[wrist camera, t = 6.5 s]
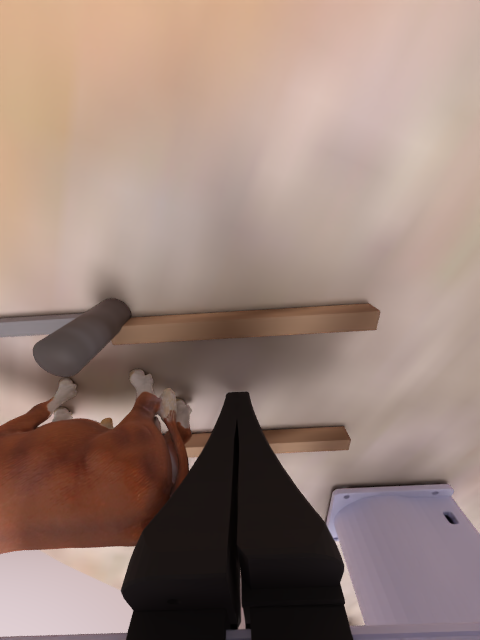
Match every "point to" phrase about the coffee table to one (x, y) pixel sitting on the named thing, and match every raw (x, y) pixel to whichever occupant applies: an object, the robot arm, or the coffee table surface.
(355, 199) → the coffee table surface
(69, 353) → the pair of brown bars
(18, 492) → the bull figurine
